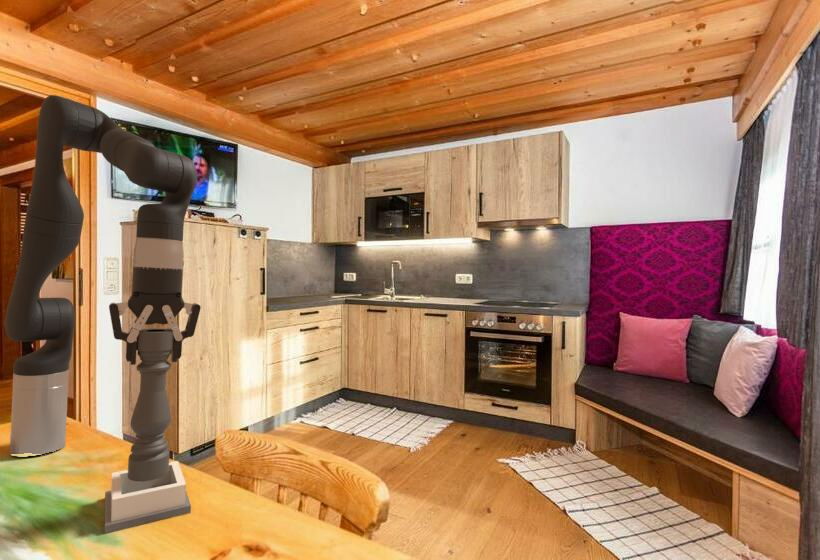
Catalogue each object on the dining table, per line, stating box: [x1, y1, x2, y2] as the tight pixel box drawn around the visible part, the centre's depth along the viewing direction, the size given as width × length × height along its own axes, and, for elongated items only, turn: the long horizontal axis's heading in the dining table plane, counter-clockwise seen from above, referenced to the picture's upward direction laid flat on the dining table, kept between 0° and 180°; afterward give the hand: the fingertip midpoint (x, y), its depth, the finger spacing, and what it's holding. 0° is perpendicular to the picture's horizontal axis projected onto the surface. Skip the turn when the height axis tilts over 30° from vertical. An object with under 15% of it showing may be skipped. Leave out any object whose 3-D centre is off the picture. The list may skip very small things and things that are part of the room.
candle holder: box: [127, 327, 174, 482], centre depth 75 cm, size 6×6×25 cm
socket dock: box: [104, 460, 192, 534], centre depth 75 cm, size 12×12×5 cm
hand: (153, 362), depth 75 cm, fingers closed on candle holder, 5 cm apart
